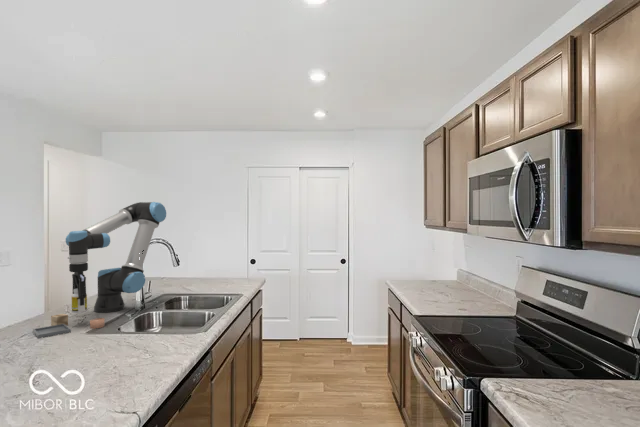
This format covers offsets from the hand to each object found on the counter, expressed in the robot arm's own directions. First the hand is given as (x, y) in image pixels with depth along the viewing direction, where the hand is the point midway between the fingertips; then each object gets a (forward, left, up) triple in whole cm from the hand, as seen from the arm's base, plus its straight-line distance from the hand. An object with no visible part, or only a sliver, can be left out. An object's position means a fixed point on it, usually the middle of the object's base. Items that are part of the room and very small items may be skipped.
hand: (79, 310), depth 180 cm
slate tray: (+12, +3, -7) cm, 14 cm away
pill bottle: (0, 0, -1) cm, 1 cm away
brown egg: (-5, +8, -7) cm, 12 cm away
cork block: (+7, -7, -7) cm, 12 cm away
